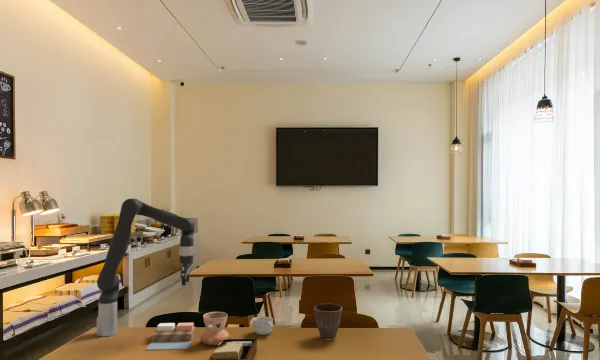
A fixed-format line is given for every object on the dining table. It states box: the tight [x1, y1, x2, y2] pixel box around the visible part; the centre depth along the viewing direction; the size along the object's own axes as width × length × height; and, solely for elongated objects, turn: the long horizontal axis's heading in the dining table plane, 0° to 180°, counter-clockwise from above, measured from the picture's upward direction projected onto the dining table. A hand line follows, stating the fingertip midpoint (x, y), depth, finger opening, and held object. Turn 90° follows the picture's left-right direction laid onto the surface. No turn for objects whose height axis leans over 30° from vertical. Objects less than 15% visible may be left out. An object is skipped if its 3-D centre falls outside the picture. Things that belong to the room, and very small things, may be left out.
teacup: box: [252, 316, 274, 336], centre depth 220 cm, size 14×11×8 cm
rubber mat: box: [145, 341, 192, 351], centre depth 202 cm, size 20×10×1 cm, turn 94°
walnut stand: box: [151, 326, 197, 343], centre depth 213 cm, size 20×12×4 cm, turn 94°
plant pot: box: [313, 303, 343, 340], centre depth 214 cm, size 15×15×16 cm
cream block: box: [156, 322, 176, 331], centre depth 215 cm, size 8×5×2 cm, turn 94°
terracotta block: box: [175, 322, 195, 331], centre depth 216 cm, size 8×5×2 cm, turn 94°
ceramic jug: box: [200, 311, 230, 346], centre depth 207 cm, size 18×14×14 cm
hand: (185, 283), depth 224 cm, fingers open, 8 cm apart
